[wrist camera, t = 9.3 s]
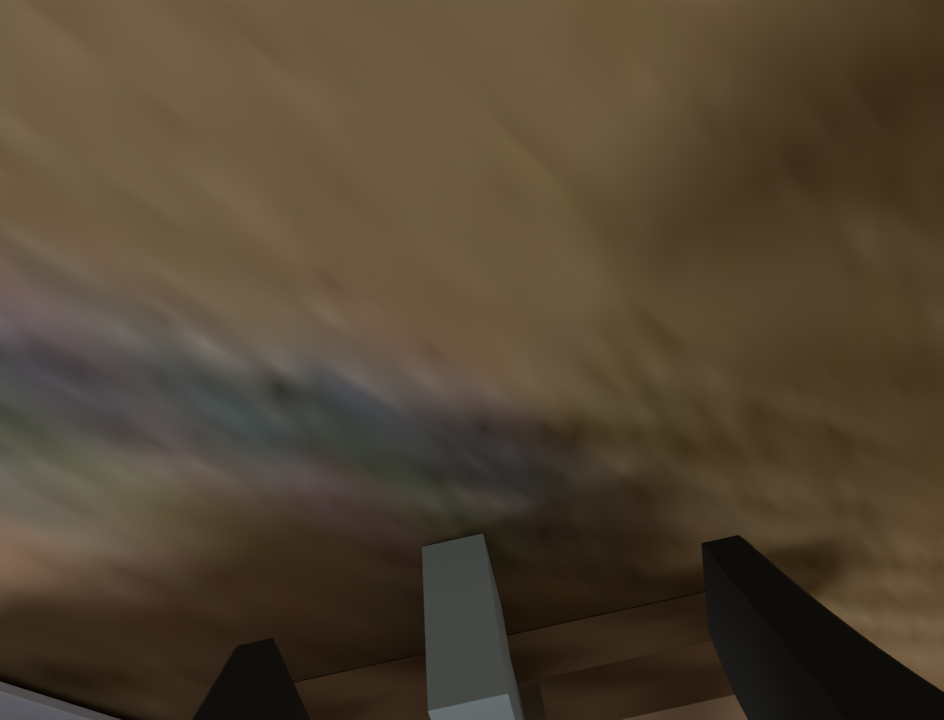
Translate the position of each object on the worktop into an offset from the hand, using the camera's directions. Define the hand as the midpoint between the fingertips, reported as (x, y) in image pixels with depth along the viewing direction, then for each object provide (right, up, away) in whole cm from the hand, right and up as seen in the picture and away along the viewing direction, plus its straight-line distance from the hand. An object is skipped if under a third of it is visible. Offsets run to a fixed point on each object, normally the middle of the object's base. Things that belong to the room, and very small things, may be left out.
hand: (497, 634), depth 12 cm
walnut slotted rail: (0, -6, +13) cm, 15 cm away
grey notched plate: (0, -6, +13) cm, 14 cm away
